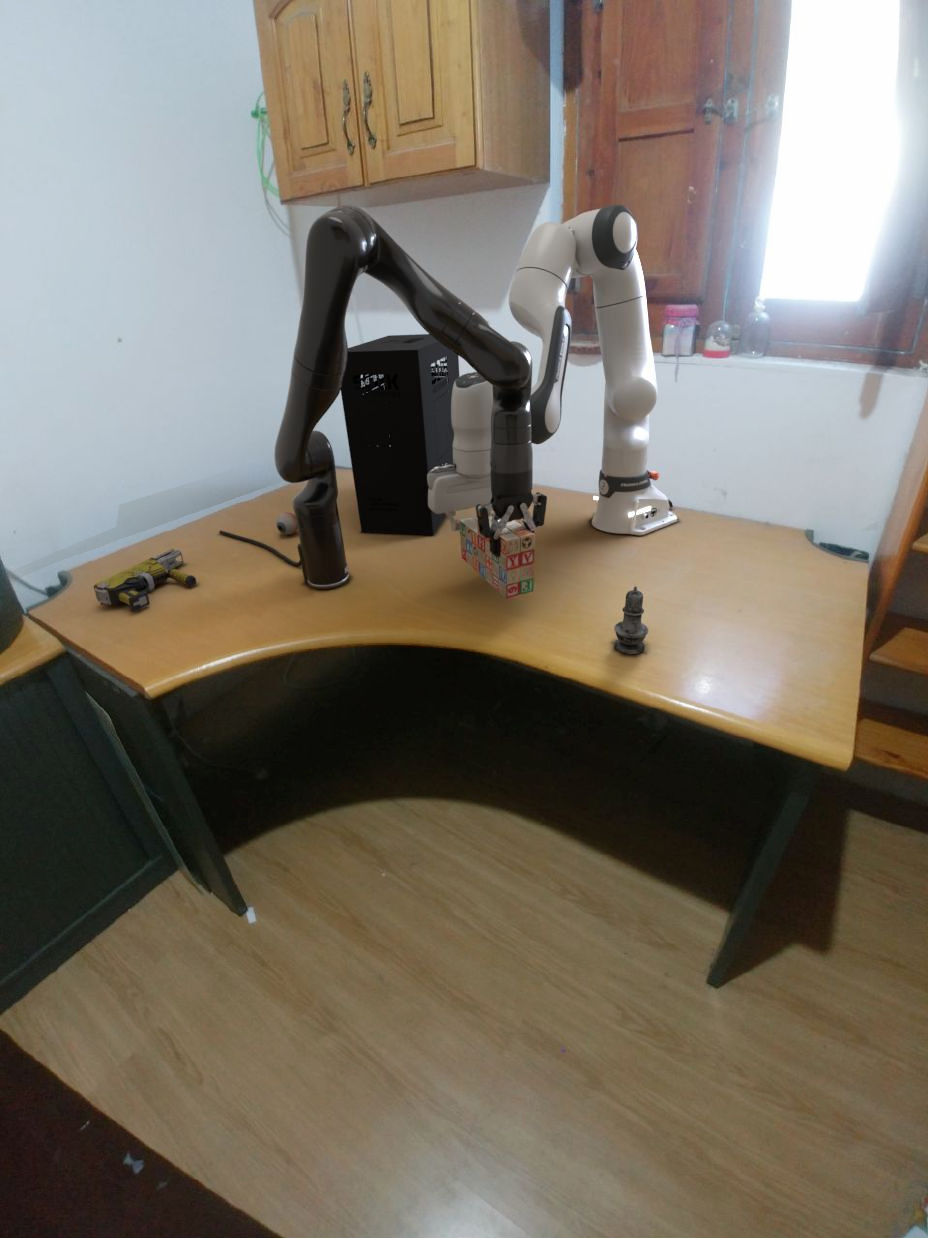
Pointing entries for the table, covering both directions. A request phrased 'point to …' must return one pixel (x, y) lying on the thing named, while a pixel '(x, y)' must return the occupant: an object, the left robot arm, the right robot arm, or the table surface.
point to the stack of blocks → (501, 556)
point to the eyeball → (286, 523)
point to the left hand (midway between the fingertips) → (512, 551)
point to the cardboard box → (398, 429)
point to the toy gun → (141, 581)
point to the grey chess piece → (631, 625)
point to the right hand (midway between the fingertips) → (476, 525)
